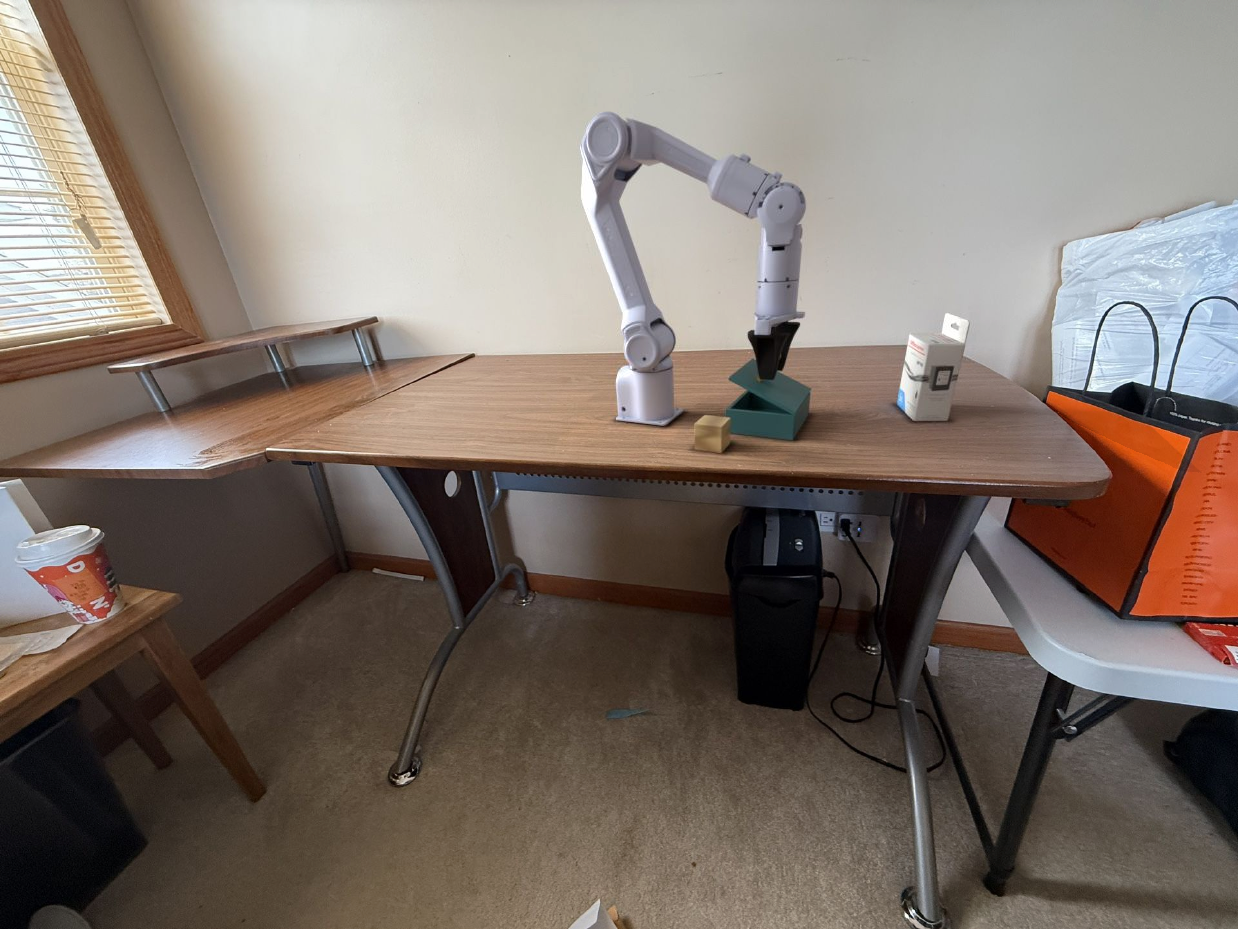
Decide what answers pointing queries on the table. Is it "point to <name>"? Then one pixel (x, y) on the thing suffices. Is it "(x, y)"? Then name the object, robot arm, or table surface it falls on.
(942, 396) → the ink box
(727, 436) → the block
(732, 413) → the chest
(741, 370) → the chest lid
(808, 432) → the table surface
